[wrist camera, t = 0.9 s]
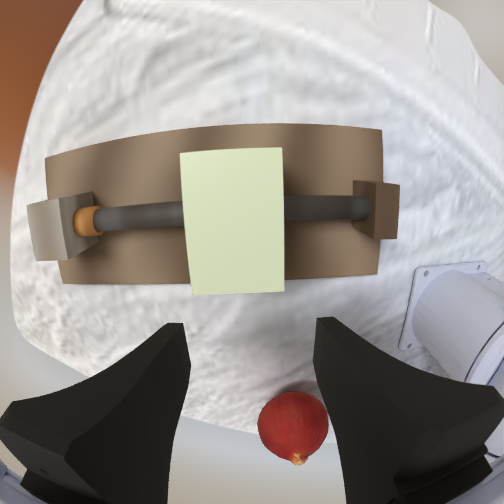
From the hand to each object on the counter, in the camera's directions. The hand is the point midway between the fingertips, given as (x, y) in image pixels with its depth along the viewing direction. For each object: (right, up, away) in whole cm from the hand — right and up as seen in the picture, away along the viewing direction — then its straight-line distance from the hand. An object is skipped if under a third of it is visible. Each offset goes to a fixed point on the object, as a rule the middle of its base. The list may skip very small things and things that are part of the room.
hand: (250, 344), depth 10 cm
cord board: (-3, +6, +8) cm, 11 cm away
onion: (+3, -10, +13) cm, 16 cm away
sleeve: (-1, +6, +7) cm, 9 cm away
